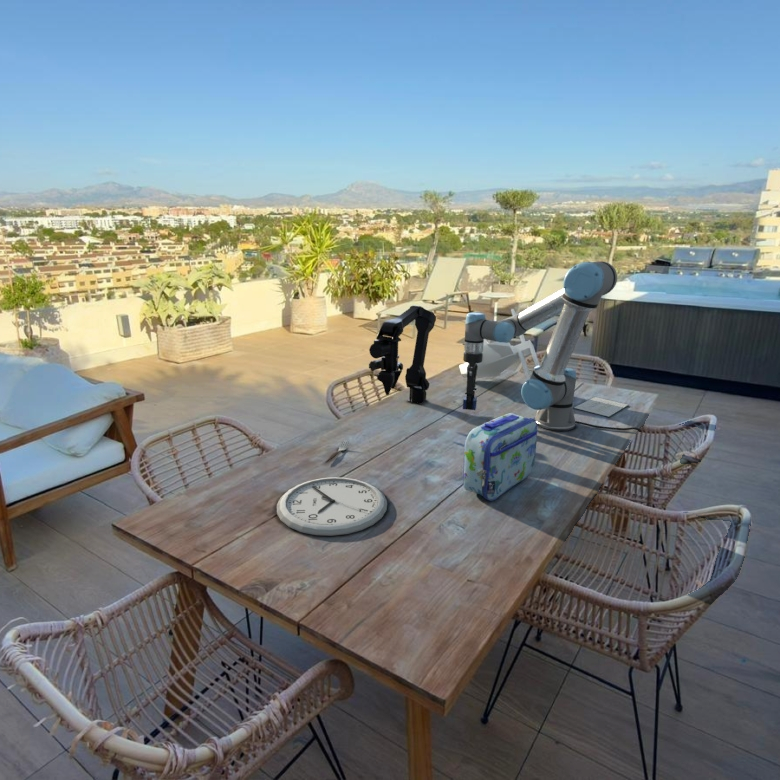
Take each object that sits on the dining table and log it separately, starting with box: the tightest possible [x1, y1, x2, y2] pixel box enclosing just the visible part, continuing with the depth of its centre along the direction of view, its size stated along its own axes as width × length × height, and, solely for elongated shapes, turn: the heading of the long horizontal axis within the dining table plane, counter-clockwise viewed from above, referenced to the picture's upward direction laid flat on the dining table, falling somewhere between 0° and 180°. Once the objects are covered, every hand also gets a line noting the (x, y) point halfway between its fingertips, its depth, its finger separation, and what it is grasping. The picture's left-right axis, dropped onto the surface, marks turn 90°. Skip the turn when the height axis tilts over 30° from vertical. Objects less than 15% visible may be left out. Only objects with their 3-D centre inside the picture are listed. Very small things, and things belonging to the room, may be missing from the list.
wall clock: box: [276, 476, 388, 537], centre depth 142 cm, size 30×2×30 cm
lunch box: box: [462, 412, 538, 502], centre depth 152 cm, size 26×11×21 cm, turn 135°
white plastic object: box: [458, 308, 541, 381], centre depth 254 cm, size 37×45×31 cm
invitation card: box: [573, 396, 629, 418], centre depth 226 cm, size 21×1×15 cm
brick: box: [462, 396, 478, 411], centre depth 214 cm, size 4×5×4 cm
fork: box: [325, 439, 350, 464], centre depth 174 cm, size 3×16×2 cm, turn 160°
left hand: (390, 391), depth 210 cm, fingers open, 9 cm apart
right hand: (469, 407), depth 215 cm, fingers closed on brick, 4 cm apart
